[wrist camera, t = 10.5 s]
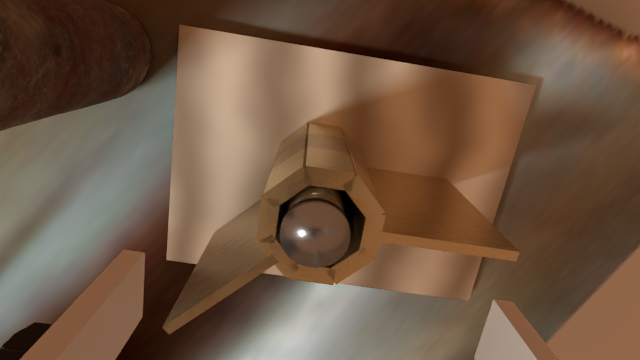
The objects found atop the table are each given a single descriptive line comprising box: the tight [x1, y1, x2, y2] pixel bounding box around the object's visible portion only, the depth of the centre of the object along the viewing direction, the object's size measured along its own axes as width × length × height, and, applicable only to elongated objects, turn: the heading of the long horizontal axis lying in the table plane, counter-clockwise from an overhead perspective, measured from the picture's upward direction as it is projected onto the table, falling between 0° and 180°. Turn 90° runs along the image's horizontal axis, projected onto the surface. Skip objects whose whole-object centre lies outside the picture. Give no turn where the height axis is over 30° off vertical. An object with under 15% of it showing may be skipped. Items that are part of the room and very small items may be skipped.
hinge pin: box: [280, 185, 350, 268], centre depth 28 cm, size 4×4×14 cm
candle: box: [0, 0, 152, 131], centre depth 23 cm, size 8×7×20 cm
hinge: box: [162, 122, 520, 334], centre depth 29 cm, size 19×11×13 cm, turn 81°
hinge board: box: [167, 24, 536, 301], centre depth 35 cm, size 28×20×1 cm
